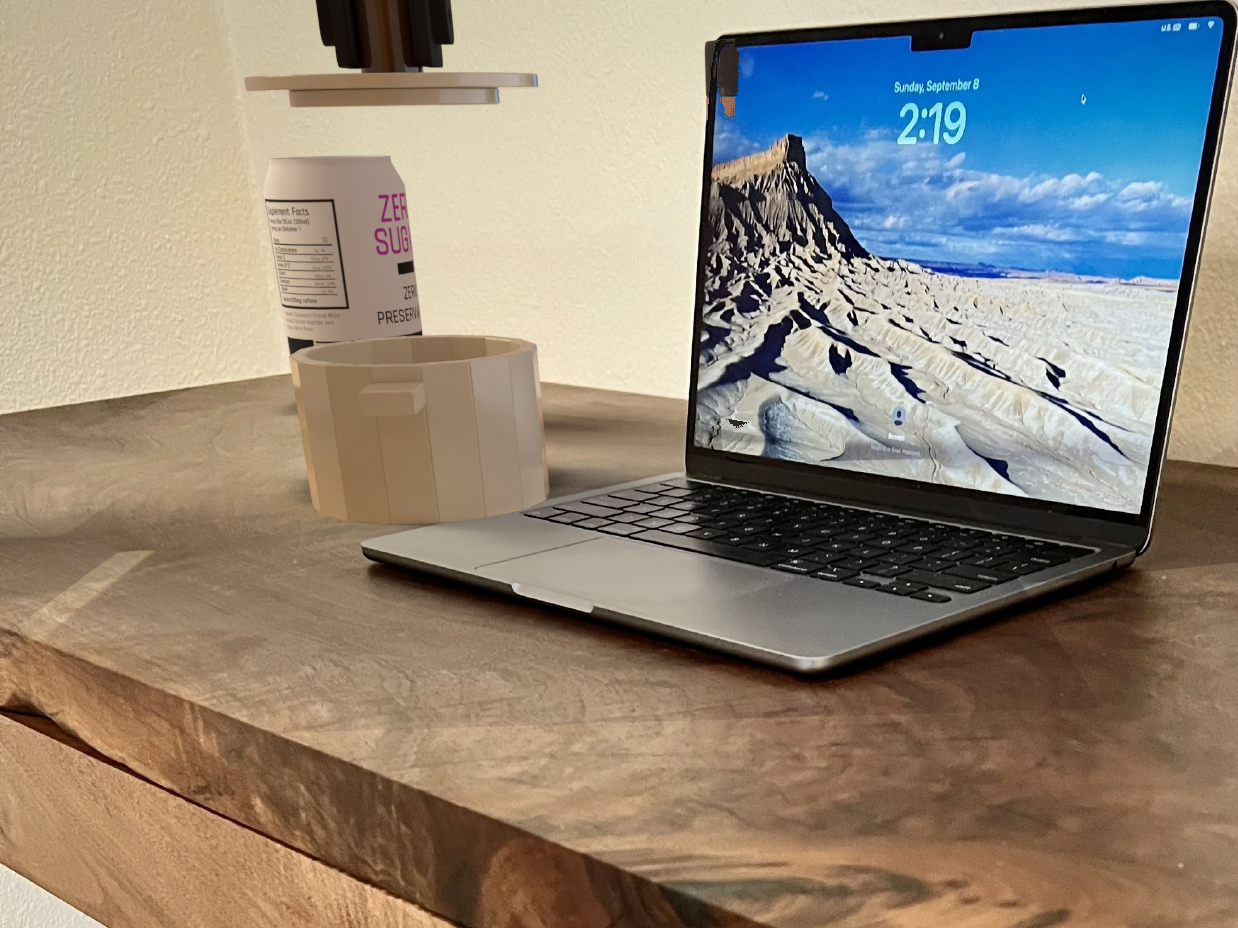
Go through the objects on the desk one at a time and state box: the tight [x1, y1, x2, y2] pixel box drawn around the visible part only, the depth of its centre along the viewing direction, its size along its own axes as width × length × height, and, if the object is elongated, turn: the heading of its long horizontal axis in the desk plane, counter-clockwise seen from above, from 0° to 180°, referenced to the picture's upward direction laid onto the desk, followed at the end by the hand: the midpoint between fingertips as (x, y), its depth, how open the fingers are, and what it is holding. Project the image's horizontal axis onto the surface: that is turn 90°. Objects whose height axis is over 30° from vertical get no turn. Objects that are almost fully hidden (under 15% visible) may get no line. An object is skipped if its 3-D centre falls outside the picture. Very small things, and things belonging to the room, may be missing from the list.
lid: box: [243, 0, 539, 109], centre depth 67 cm, size 12×12×6 cm
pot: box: [288, 334, 550, 525], centre depth 78 cm, size 11×17×7 cm
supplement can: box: [262, 154, 424, 357], centre depth 99 cm, size 8×8×15 cm
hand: (391, 62), depth 68 cm, fingers closed on lid, 2 cm apart
